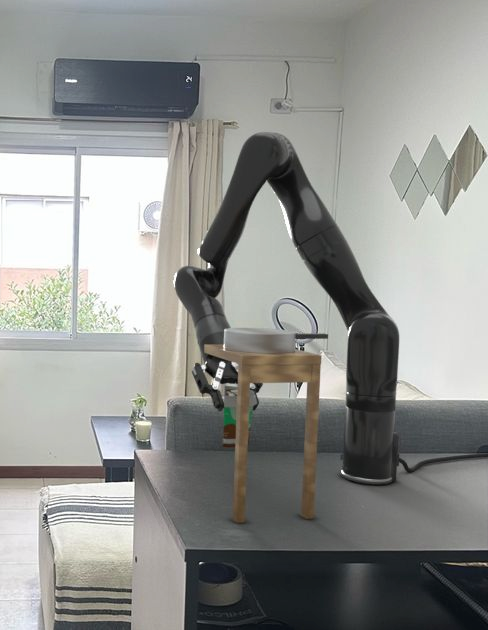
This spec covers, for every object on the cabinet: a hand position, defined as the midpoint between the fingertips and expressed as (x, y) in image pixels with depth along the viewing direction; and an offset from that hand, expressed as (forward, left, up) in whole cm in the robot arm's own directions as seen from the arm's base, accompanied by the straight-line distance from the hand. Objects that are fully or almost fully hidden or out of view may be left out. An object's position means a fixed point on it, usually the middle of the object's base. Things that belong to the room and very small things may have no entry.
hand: (238, 408), depth 145 cm
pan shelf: (+1, +15, -14) cm, 21 cm away
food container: (0, +1, -7) cm, 7 cm away
